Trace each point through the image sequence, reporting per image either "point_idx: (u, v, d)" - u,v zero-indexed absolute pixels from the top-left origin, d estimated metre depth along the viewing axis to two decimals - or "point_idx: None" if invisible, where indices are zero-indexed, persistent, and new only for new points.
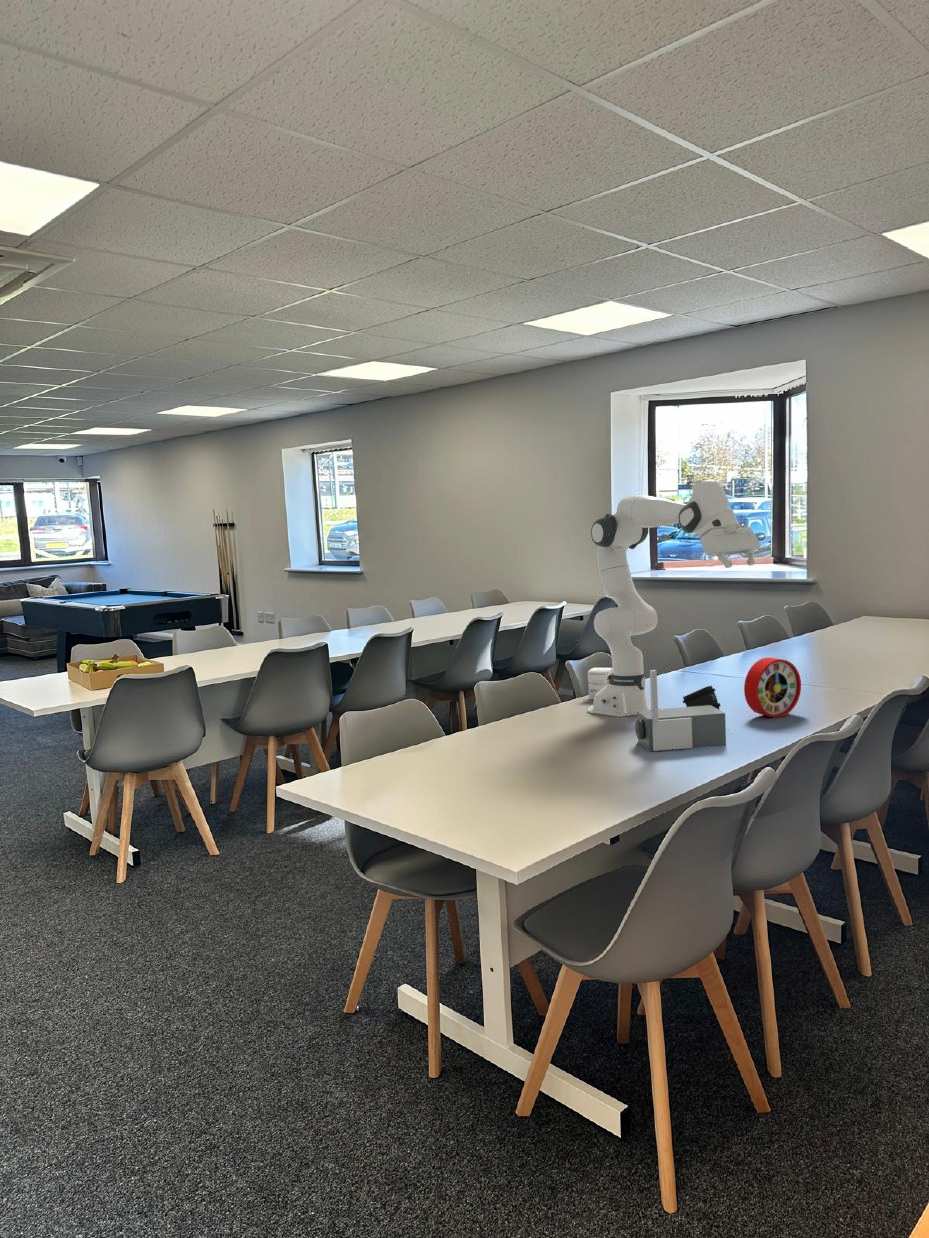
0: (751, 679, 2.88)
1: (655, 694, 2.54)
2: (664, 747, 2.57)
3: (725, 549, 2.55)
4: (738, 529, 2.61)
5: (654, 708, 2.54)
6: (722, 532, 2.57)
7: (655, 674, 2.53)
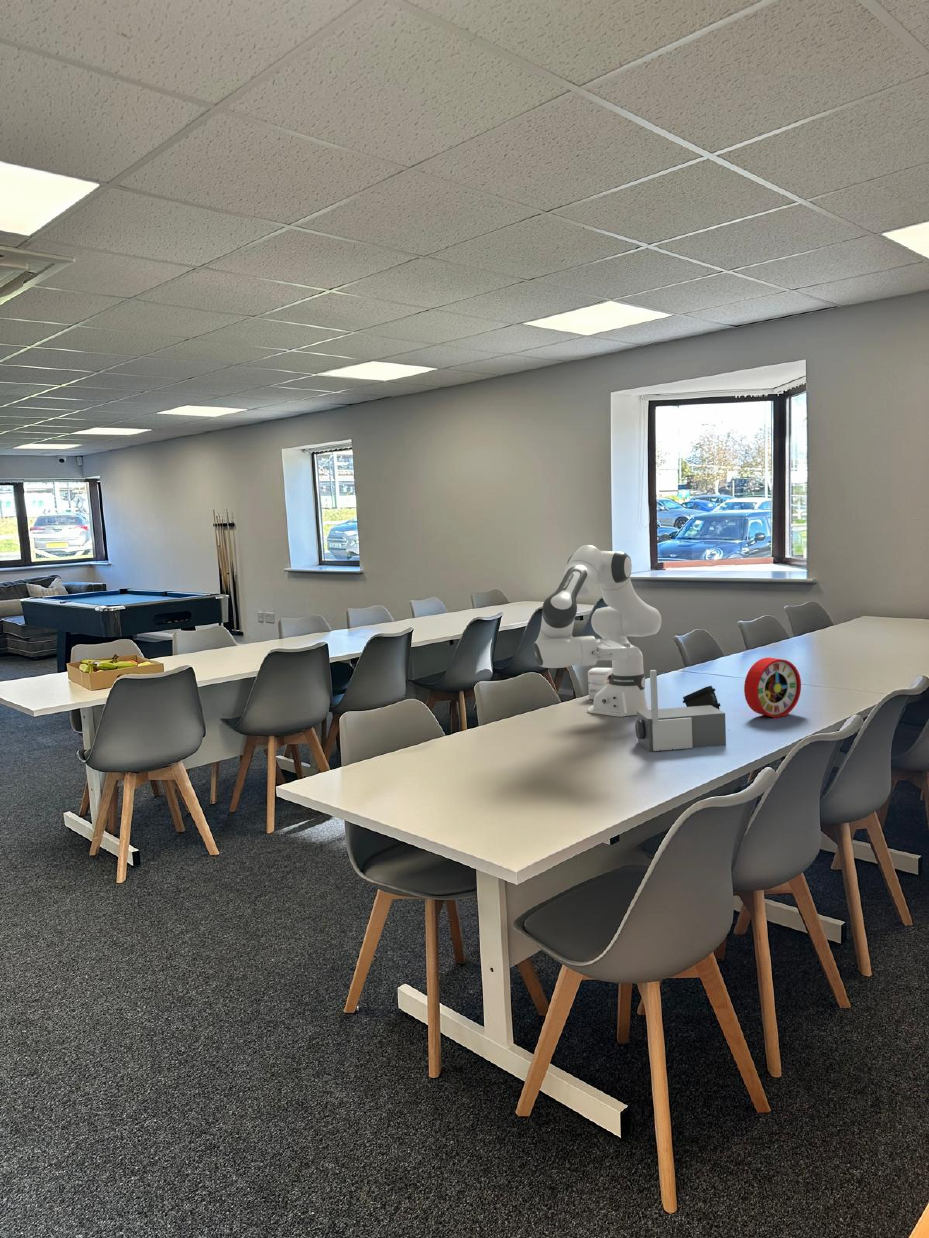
0: (751, 679, 2.88)
1: (655, 694, 2.54)
2: (664, 747, 2.57)
3: None
4: None
5: (654, 708, 2.54)
6: None
7: (655, 674, 2.53)
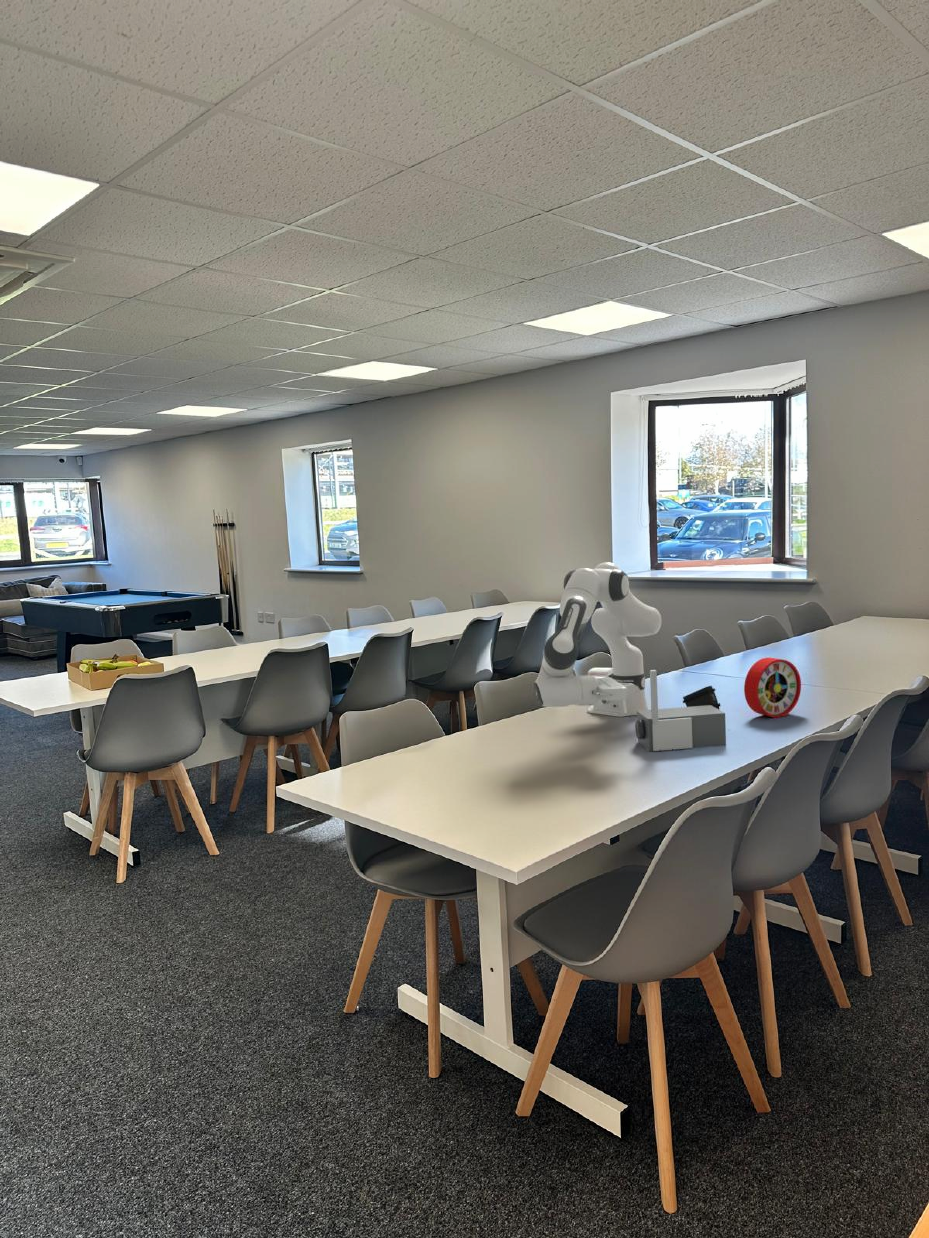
0: (751, 679, 2.88)
1: (655, 694, 2.54)
2: (664, 747, 2.57)
3: None
4: (599, 697, 2.50)
5: (654, 708, 2.54)
6: None
7: (655, 674, 2.53)
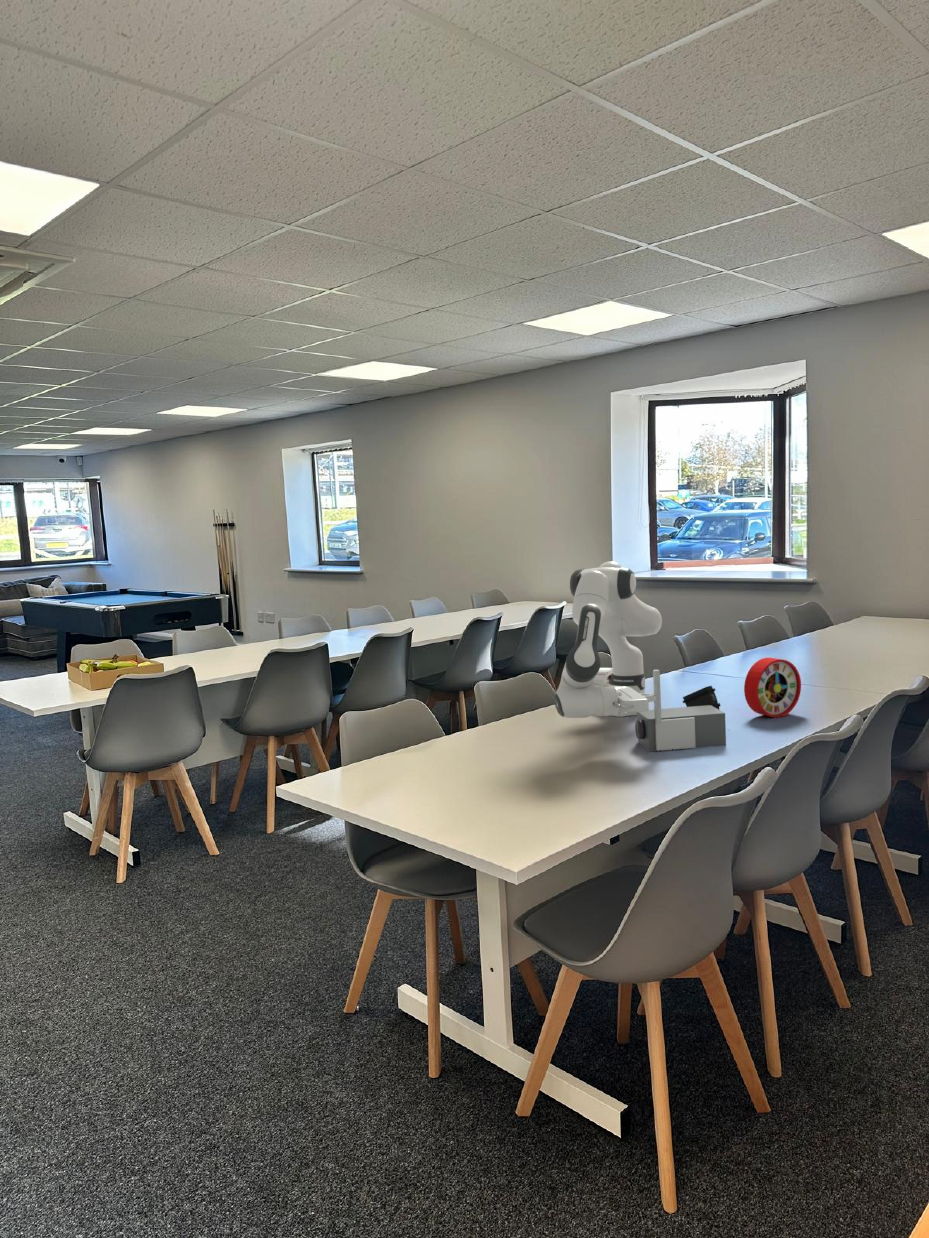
0: (751, 679, 2.88)
1: (658, 694, 2.54)
2: (667, 747, 2.57)
3: None
4: None
5: (657, 708, 2.54)
6: None
7: (658, 674, 2.53)
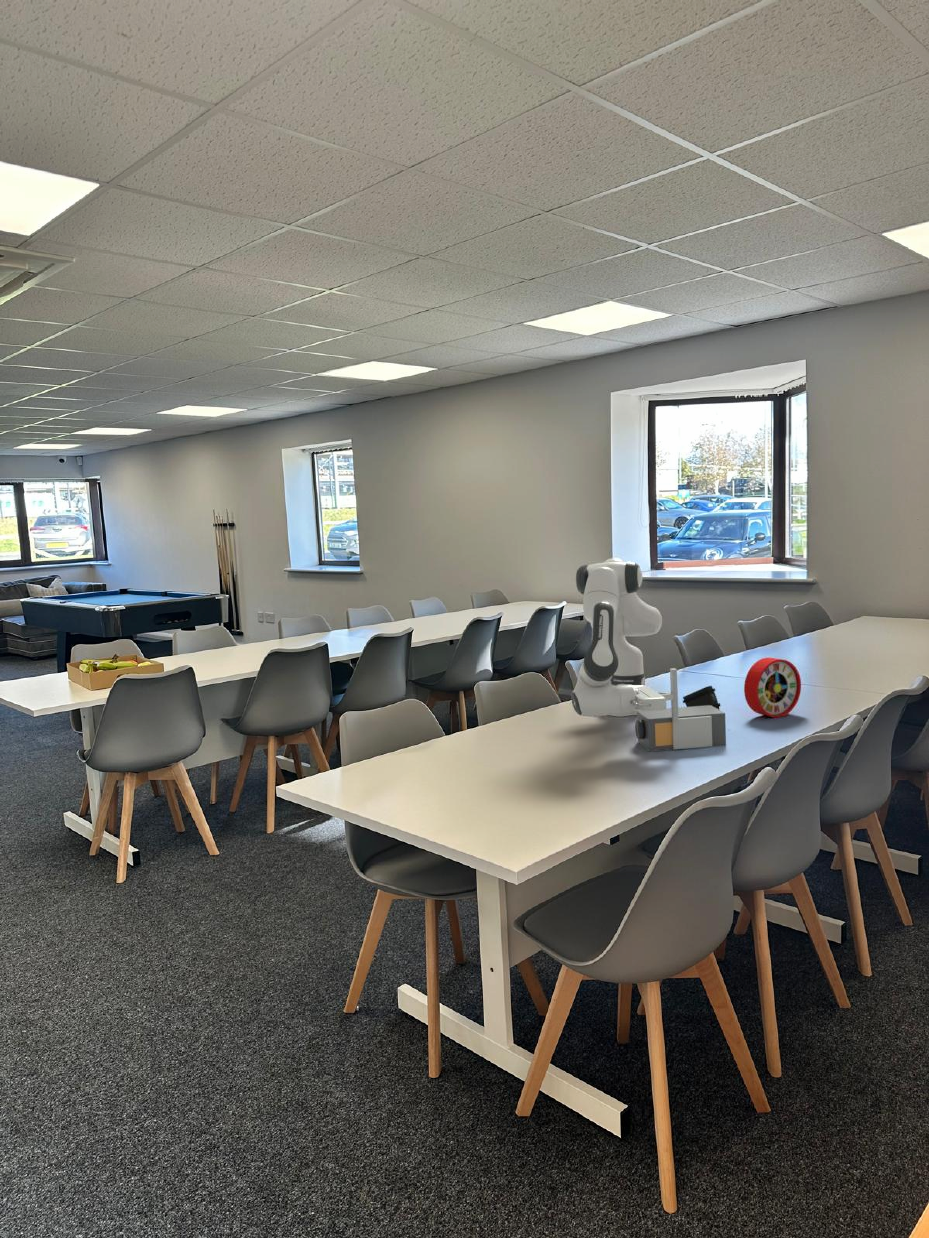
0: (751, 679, 2.88)
1: (675, 692, 2.54)
2: (684, 745, 2.57)
3: None
4: None
5: (674, 706, 2.55)
6: None
7: (675, 672, 2.54)
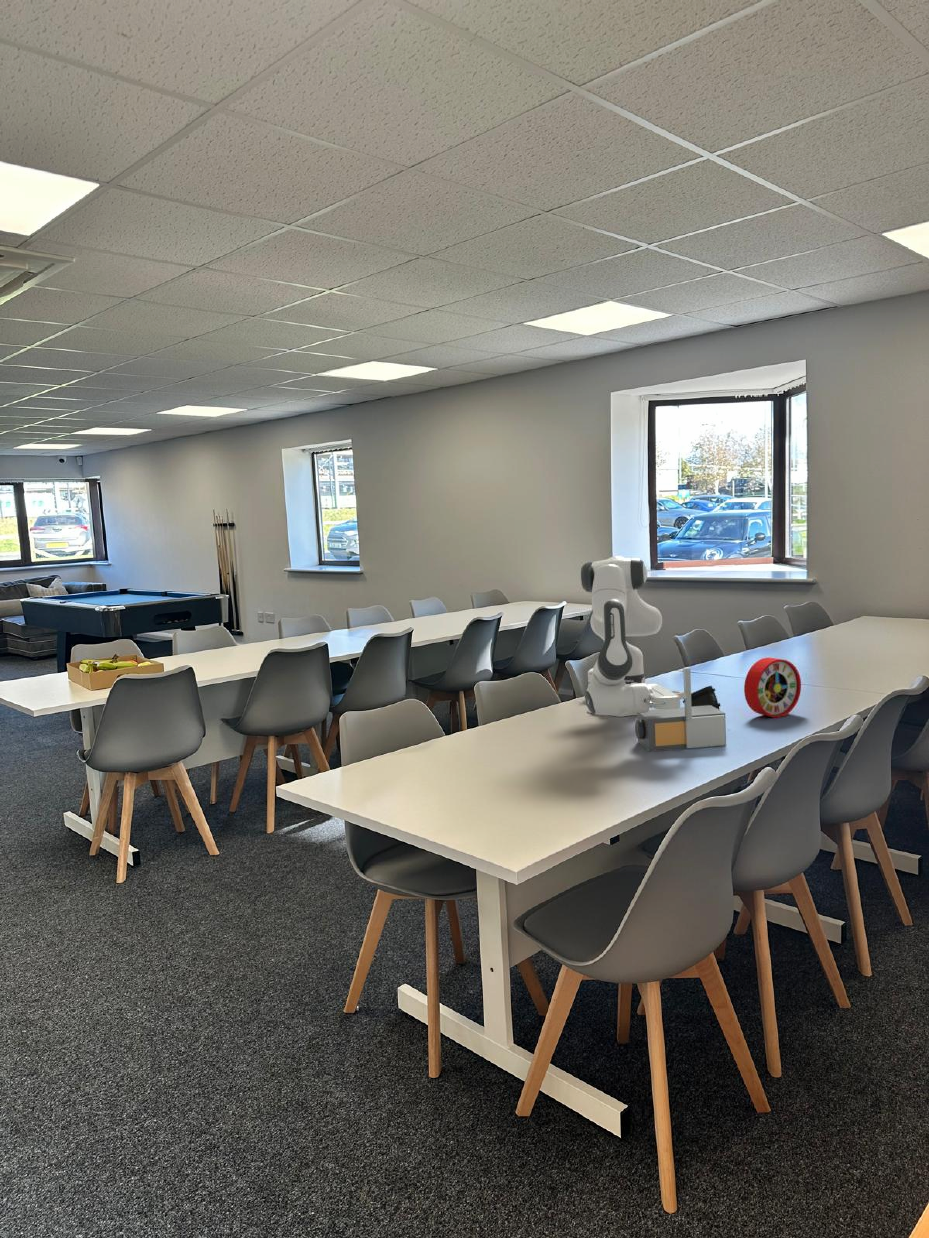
0: (751, 679, 2.88)
1: (689, 691, 2.55)
2: (697, 744, 2.57)
3: None
4: None
5: (688, 705, 2.55)
6: None
7: (689, 671, 2.54)
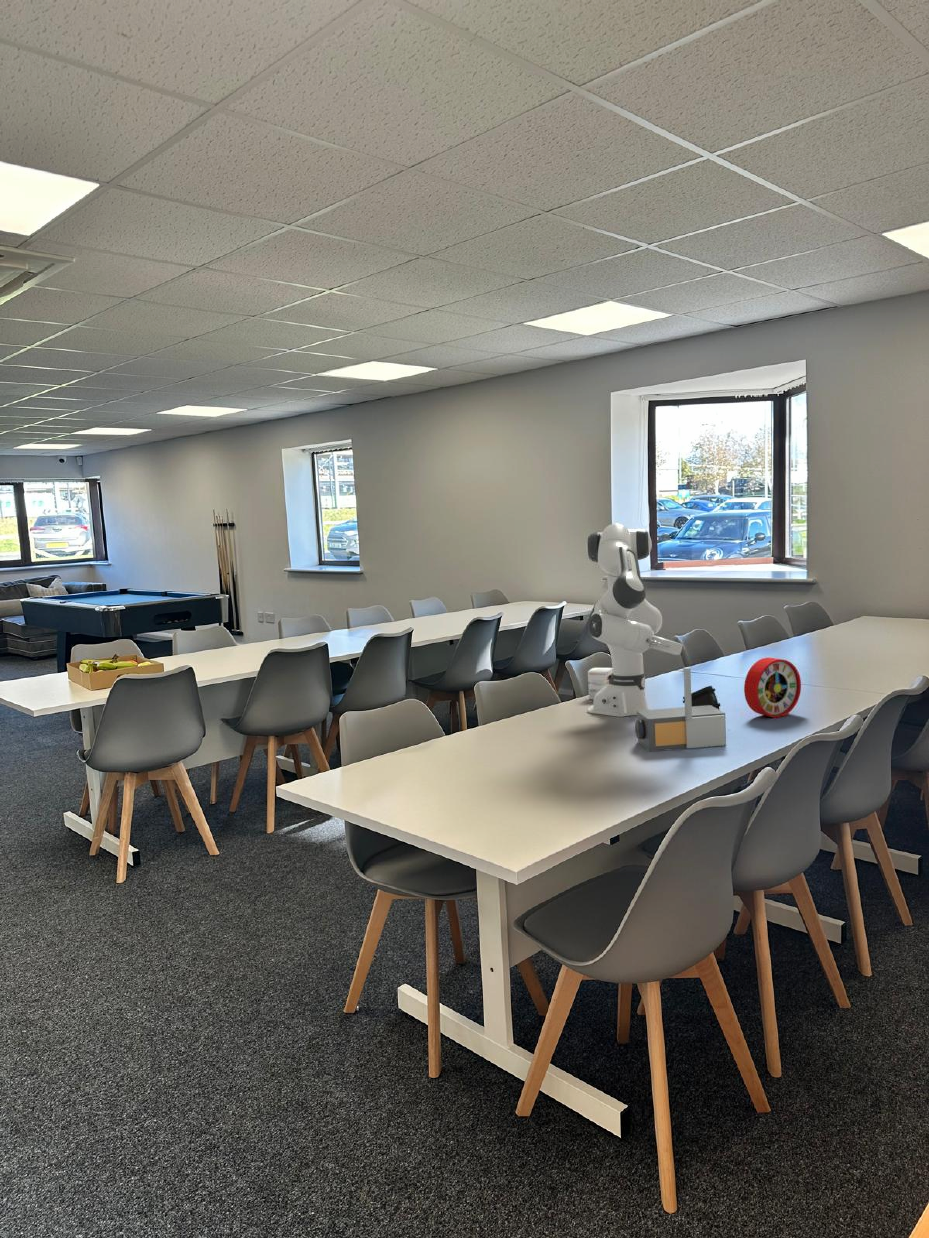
0: (751, 679, 2.88)
1: (689, 691, 2.55)
2: (697, 744, 2.57)
3: None
4: (650, 647, 2.53)
5: (688, 705, 2.55)
6: None
7: (689, 671, 2.54)
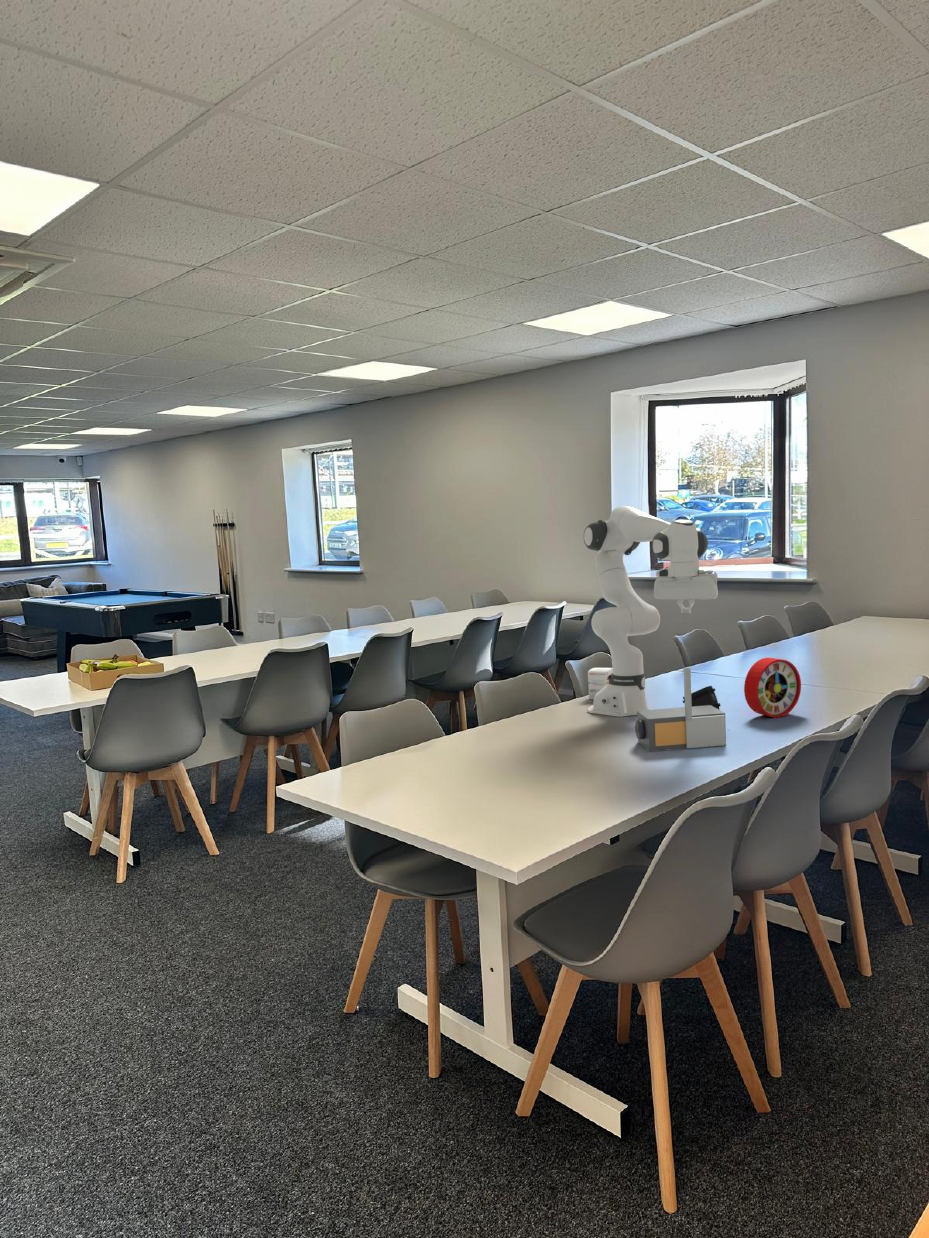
0: (751, 679, 2.88)
1: (689, 691, 2.55)
2: (697, 744, 2.57)
3: (668, 598, 2.74)
4: (693, 578, 2.69)
5: (688, 705, 2.55)
6: (670, 581, 2.73)
7: (689, 671, 2.54)
